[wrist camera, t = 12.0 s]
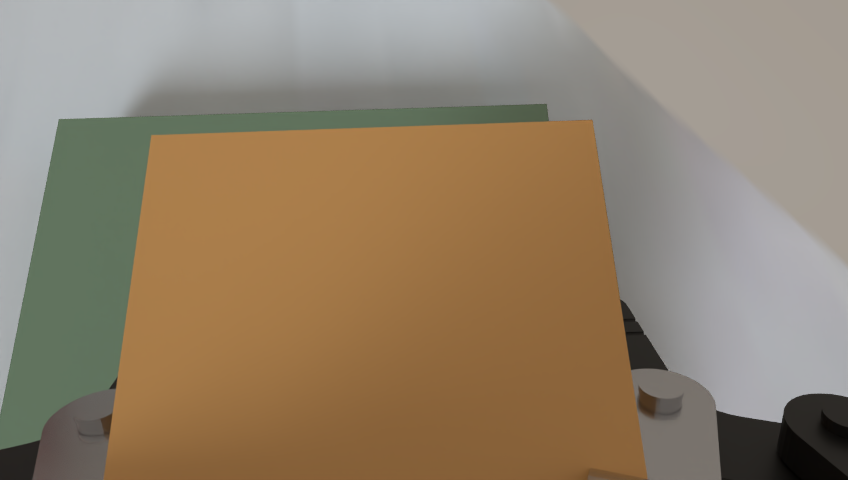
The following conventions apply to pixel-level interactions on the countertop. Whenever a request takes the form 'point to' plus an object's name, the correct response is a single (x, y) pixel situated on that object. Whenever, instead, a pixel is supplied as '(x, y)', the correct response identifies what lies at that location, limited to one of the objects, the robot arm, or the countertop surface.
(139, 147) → the green base plate
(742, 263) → the countertop surface
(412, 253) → the chute block
